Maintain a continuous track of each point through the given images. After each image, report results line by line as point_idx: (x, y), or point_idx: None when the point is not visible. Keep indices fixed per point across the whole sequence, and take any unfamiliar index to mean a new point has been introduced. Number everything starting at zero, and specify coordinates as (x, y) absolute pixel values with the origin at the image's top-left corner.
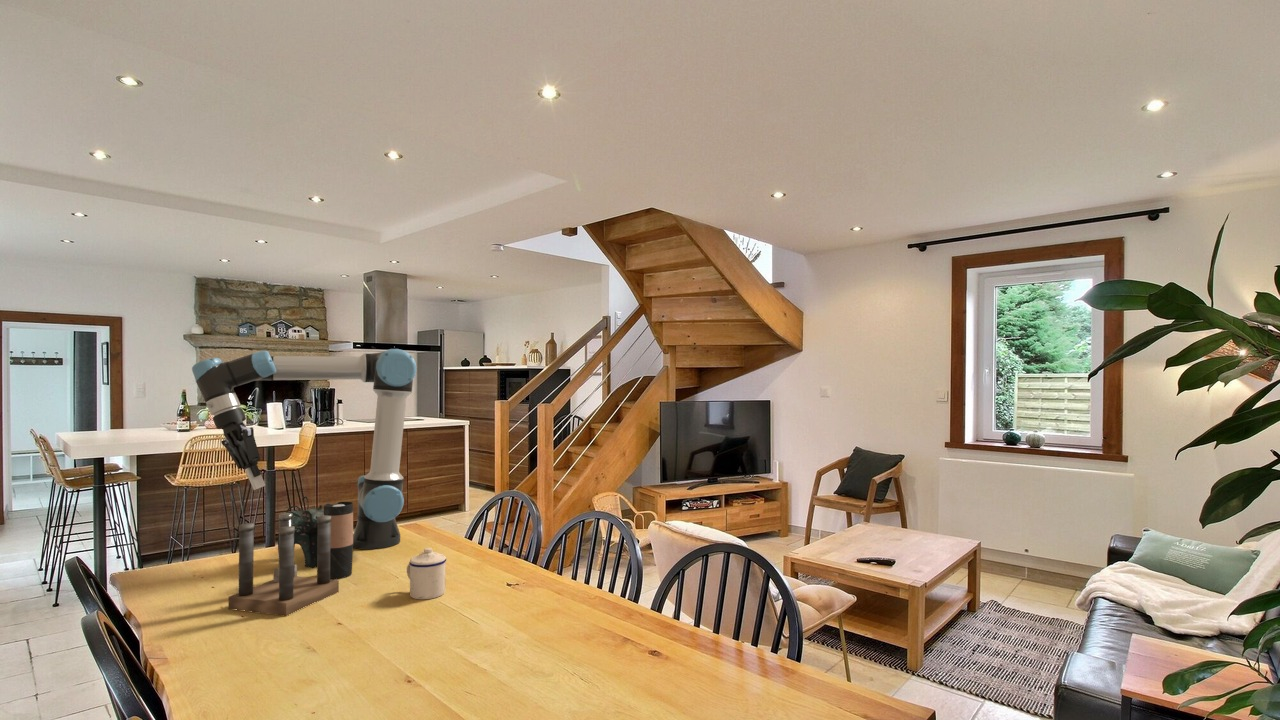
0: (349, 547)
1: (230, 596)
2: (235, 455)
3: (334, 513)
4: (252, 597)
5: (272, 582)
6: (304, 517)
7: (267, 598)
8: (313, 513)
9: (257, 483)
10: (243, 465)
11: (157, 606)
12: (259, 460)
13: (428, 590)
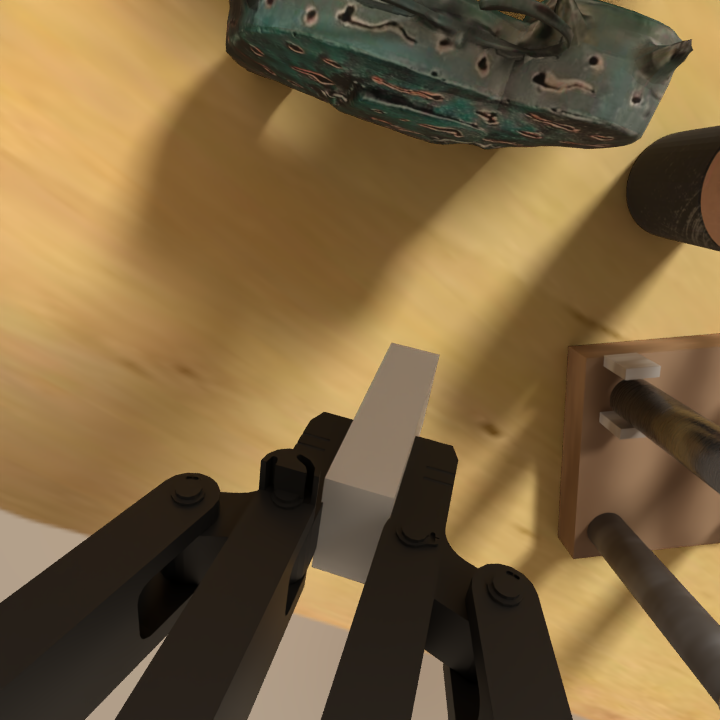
0: None
1: (577, 555)
2: (70, 714)
3: None
4: (646, 539)
5: (604, 430)
6: (561, 134)
7: (695, 530)
8: (644, 124)
9: (419, 431)
10: (293, 603)
11: (343, 588)
12: (511, 572)
13: None
